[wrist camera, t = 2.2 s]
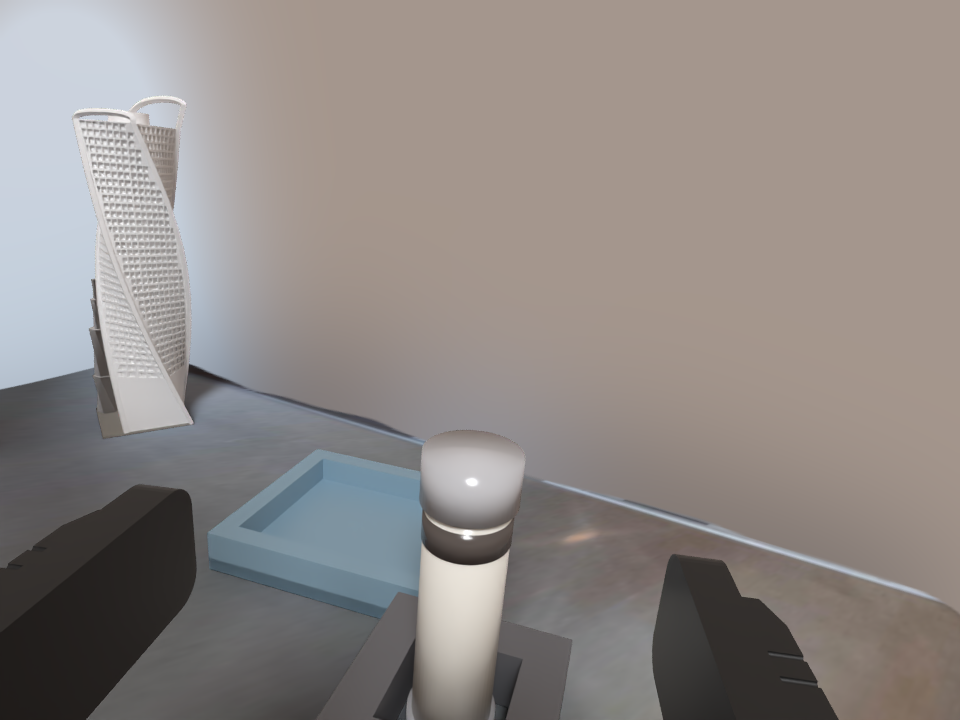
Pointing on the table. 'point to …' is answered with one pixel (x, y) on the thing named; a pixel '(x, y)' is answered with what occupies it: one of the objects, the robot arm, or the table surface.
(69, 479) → the table surface
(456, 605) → the fuse
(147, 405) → the skyscraper
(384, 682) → the fuse holder
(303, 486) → the tray
